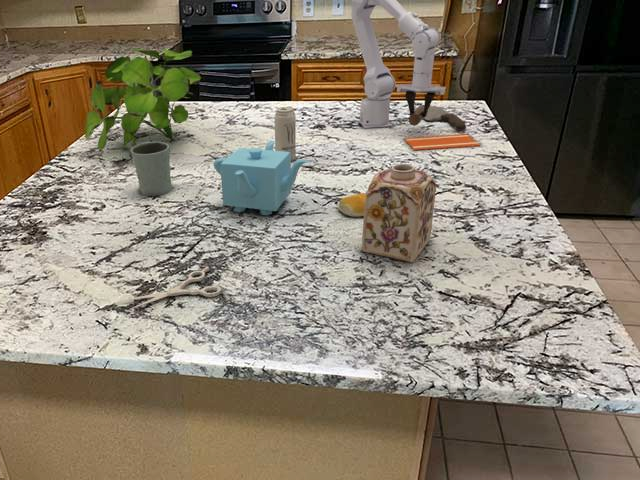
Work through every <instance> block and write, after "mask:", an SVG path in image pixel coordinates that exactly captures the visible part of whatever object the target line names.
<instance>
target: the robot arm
mask: <svg viewBox="0 0 640 480" xmlns="http://www.w3.org/2000/svg"><path fill="white" fill-rule="evenodd" d="M350 3H351V12H350V13H351V14H350V16H351V20H352V24H353V27H354V31H355V34H356V37H357V41H358V45H359V48H360V52H361V55H362V59H363V61H364V66H365V68H366V72H365V74H364V76H363V82H364V88H363V89H364V94H365V95H366V98H362V99H361V100H360V107H359V108H360V110H359V120H358V121H359V123H360V124H361V126H362V128H363V129H370V128H371V129H372V128H385V127H386V128H387V127H393V124H392V123H391V122H390V120H389V119H390V107H391V97H392V93H393V91H395V90H396V92H397V93H401V92H403V93H405V94H404V97H405V101H406V103H407V105H408V111H409V117H410V116H411V114H412V113H413V112H414V108H415V103H416V102H415V101H416V98H417V97H416V96H417V93H418V94H425V95H424V104H423V105H424V112H423V117H426V116H427V112H428V109H429V106H431V104H432V102H433V100H434V98H435V96H436V95H440V96H444V95H445V94H446V86H440V85H439V86H438V85H432V80H433V79H432V78H433V70H434V62H435V53H436V47H438V45H439V43H440V40H441V37H440V33H439V31H438V29H437V28H435V27H429V24H427V23H424V21H422V19H421V18H420V17H419V14H418V13H417V12H414V11H407V10H406V9H405V8H404V7H403V6H402V4H401V3H399V1H397V0H350ZM377 6H380V7H381V8H383V9H384V11H386V12H387V13H388V14H389V15H390V16H392V18H394V19H395V20H396V21H397V27H398V29H399V30H400V31H401V32H402V33H403V34H404V35H405V36H407V38H408V39H409V40H410V41H411V44H412V48H413V51H414V54H413V55H414V60H413V61H414V62H413V72H412V79H411V83H410V84H409V83H408V84H399V83H398V85H397V83H396V79H395V77H394V76H393V75H392V74H391V70H390V69H389V68H388V67H387V66H386V65H385V64H384V62H383V58H382V55H381V51H380V47H379V43H378V40H377V37H376V33H375V29H374V27H373V26H374V25H373V23H372V19H371V14H372V12H373V10H374V9H375V8H376V7H377ZM396 85H397V87H396Z"/></svg>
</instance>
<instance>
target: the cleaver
mask: <svg viewBox="0 0 640 480" xmlns="http://www.w3.org/2000/svg"><path fill="white" fill-rule="evenodd" d="M417 108H418V107H414V111H415V110H416V109H417ZM423 119H424V120H426V121H429V122H430V121H432V122H433V121H434V122H435V121H441V122H448V123H449V125H450V126H451V127H453V128H454V129H455V131H459V132H460V131H465V130H466V129H467V124H466V123H465V121H464V120H462V119H461V118H460V117H459V116H458V115H456V114H454V113H452V112H451V113H450V112H448V111H446V110H444V109H443V108H441V107H439V106H437V105H430V106H429V109H428V112H427V116H426V117H424V118H423Z"/></svg>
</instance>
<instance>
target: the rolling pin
mask: <svg viewBox="0 0 640 480" xmlns="http://www.w3.org/2000/svg"><path fill="white" fill-rule="evenodd" d="M424 105H425V104H420V105H419V106H418V107H416V108H417V109H416V110H415V111H414V112H413V113H412V114H411V116H410V115H409V117H408V123H409V124H410V125H411V126H414V127H415V126H418V125H419V124H420V123H421V122H422V121H423V119H424V117H423V112H424Z"/></svg>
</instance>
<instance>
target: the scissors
mask: <svg viewBox="0 0 640 480" xmlns="http://www.w3.org/2000/svg"><path fill="white" fill-rule="evenodd" d="M209 271H210V267H209V266H205V267H204V268H203V269H202V270H193V271H192V272H190V273H188V277H187V279H185V280H183V281H182V282H181V284H179V285H177V286H175V287H172V288H171V289H169V290H167V291H162V292H157V293H151V294H146V295H140V296H135V297H130V298H125V299H122V300H121V302H122V301H132V300H140V299H148V298H150V299H148V300H146V301H144V302H142V303H139V304H137V305H136V306H133V307H132V308H129V309H128V310H129V311H130V310H132V309H136V308H139V307H141V306H144V305H147V304H151V303H153V302H155V301H159V300H161V299H165V298H166V297H176V296H181V295H191V296H195V295H201V296H203V297H207V298H210V297H211V298H213V297H217V296H219V295H220V294H221V293H222V289H221V287H220V286H216V285H208V286H205V287H203V288H201V289H197V290H191V289H190V290H189V289H183V288H184V287H186V285H188V284H190V283H194V282H199V283H200V282H201V281H203V280H205V278H206V273H207V272H209ZM197 275H198V276H197ZM195 276H196V277H195ZM210 291H214V292H210Z"/></svg>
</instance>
